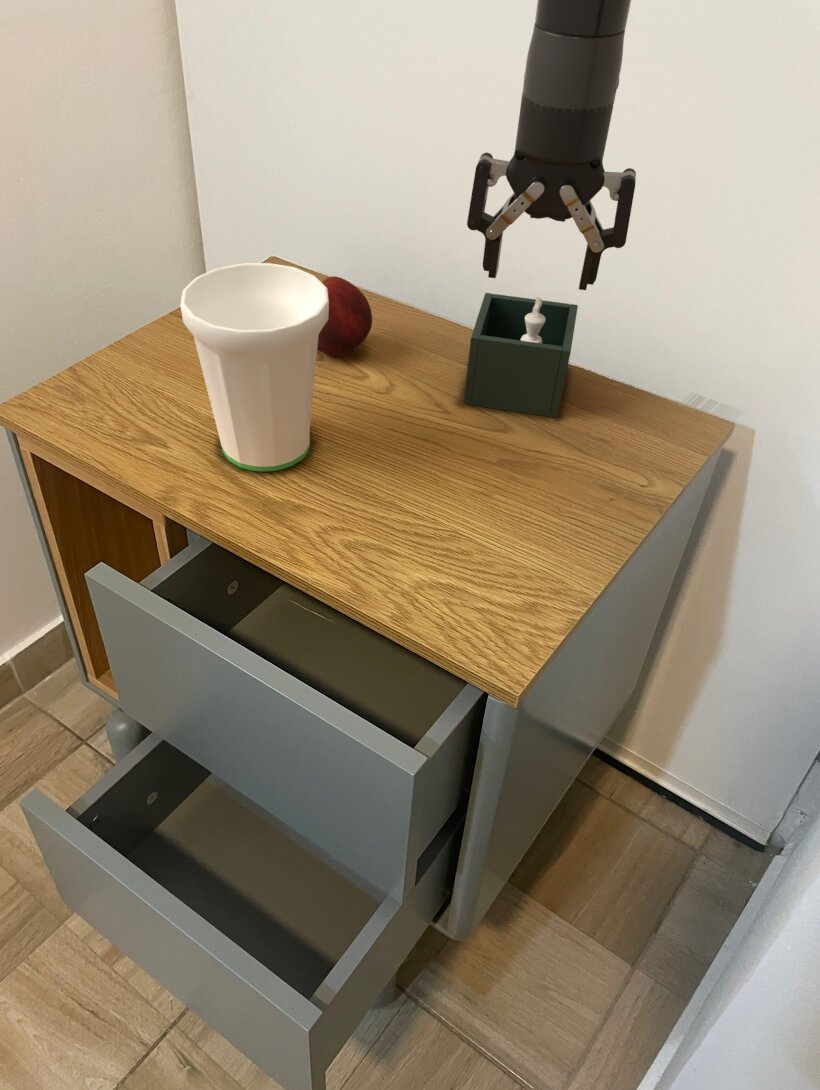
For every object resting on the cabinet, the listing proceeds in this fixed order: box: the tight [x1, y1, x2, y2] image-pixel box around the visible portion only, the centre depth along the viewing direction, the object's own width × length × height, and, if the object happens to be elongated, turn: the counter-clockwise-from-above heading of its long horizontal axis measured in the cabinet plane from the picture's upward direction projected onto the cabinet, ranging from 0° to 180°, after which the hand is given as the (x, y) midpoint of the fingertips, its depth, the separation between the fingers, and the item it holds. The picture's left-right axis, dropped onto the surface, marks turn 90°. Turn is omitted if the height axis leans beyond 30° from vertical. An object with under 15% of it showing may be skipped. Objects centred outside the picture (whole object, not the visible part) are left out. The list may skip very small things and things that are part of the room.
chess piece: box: [521, 297, 546, 343], centre depth 88 cm, size 5×5×10 cm
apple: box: [317, 276, 373, 356], centre depth 94 cm, size 7×8×8 cm
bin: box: [463, 292, 579, 419], centre depth 90 cm, size 10×10×8 cm
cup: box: [179, 262, 329, 472], centre depth 79 cm, size 12×12×15 cm
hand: (537, 280), depth 83 cm, fingers open, 8 cm apart
